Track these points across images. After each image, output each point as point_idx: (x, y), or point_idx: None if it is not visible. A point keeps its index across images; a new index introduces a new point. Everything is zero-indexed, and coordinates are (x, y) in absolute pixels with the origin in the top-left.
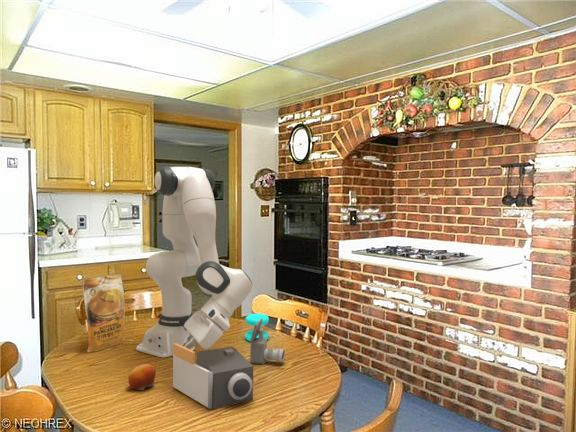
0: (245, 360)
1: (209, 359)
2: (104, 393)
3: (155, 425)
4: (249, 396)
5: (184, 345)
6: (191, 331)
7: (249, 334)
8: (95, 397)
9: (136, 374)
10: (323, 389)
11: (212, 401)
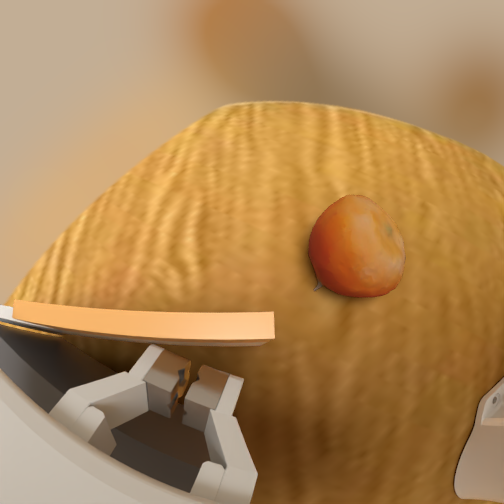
0: None
1: None
2: (361, 171)
3: (113, 192)
4: None
5: (170, 374)
6: (131, 499)
7: None
8: (350, 151)
9: (336, 202)
10: None
11: (55, 338)
